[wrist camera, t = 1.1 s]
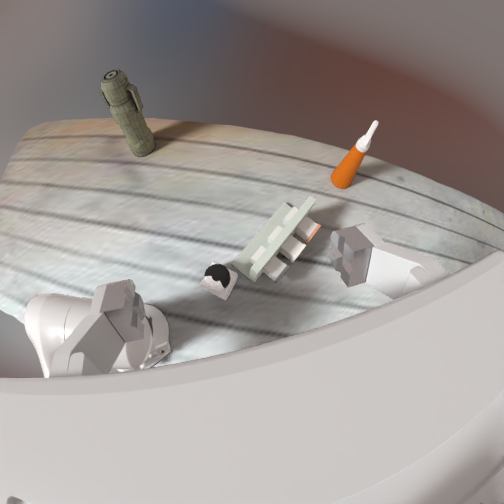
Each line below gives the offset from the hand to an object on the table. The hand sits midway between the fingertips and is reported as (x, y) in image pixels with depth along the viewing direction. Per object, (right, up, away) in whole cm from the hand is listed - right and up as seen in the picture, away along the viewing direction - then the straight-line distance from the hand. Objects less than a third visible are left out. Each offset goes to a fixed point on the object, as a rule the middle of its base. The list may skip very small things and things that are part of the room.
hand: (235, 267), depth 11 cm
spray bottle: (+31, +26, +75) cm, 85 cm away
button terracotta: (+14, +7, +64) cm, 66 cm away
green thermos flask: (-37, +37, +75) cm, 92 cm away
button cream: (+9, +2, +62) cm, 63 cm away
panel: (+6, +4, +68) cm, 68 cm away
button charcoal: (+5, -3, +61) cm, 61 cm away
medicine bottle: (-8, -8, +64) cm, 65 cm away
